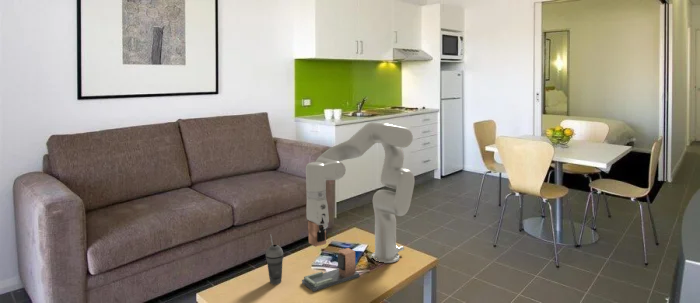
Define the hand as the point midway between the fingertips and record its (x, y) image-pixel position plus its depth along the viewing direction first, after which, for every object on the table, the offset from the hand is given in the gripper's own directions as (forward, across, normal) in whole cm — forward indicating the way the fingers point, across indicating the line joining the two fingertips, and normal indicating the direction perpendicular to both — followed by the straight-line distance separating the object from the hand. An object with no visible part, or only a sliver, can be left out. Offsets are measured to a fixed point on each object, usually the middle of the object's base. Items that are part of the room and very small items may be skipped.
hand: (317, 238), depth 180 cm
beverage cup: (+19, +12, +13) cm, 26 cm away
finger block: (+2, 0, 0) cm, 2 cm away
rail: (+19, 0, -6) cm, 20 cm away
